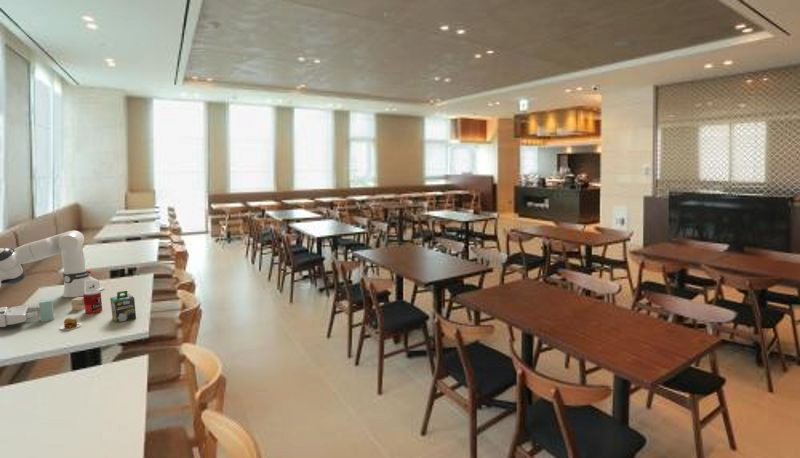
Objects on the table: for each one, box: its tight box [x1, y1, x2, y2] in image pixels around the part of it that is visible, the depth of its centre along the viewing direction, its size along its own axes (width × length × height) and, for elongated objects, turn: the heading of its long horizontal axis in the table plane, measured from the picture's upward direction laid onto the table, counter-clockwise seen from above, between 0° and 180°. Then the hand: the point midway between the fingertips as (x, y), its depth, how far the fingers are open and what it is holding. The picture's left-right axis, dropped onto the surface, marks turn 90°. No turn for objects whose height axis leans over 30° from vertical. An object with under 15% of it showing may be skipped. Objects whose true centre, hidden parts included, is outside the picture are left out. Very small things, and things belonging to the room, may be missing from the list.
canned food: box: [83, 290, 103, 315], centre depth 245 cm, size 8×8×11 cm
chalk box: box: [109, 290, 137, 323], centre depth 234 cm, size 9×9×15 cm
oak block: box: [71, 296, 85, 311], centre depth 251 cm, size 5×5×6 cm
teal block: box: [38, 298, 55, 323], centre depth 233 cm, size 5×5×10 cm
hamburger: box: [59, 316, 83, 331], centre depth 222 cm, size 12×12×6 cm
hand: (38, 311), depth 231 cm, fingers open, 8 cm apart
